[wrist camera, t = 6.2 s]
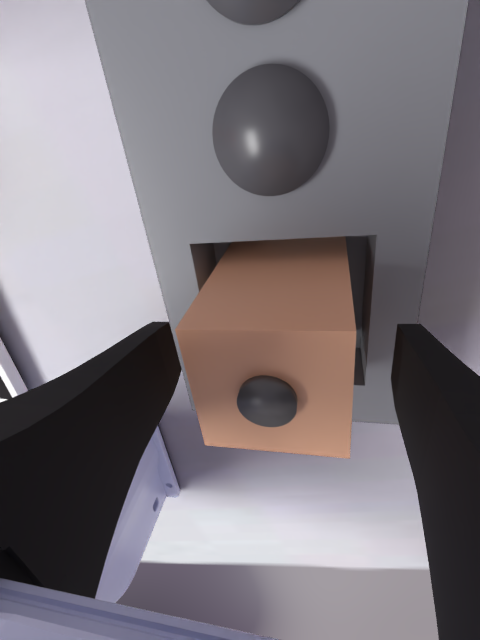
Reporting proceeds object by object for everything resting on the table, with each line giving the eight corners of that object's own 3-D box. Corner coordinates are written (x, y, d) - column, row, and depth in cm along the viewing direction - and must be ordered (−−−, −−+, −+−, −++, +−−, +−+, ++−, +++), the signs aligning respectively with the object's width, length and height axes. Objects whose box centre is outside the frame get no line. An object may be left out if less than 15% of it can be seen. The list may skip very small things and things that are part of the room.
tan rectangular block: (342, 332, 16) (350, 467, 10) (244, 331, 17) (202, 453, 11) (345, 235, 13) (357, 338, 8) (232, 241, 14) (170, 336, 9)
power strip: (388, 369, 17) (401, 428, 14) (212, 363, 19) (191, 413, 16) (462, -247, 8) (544, -454, 5) (112, -131, 10) (20, -226, 7)
